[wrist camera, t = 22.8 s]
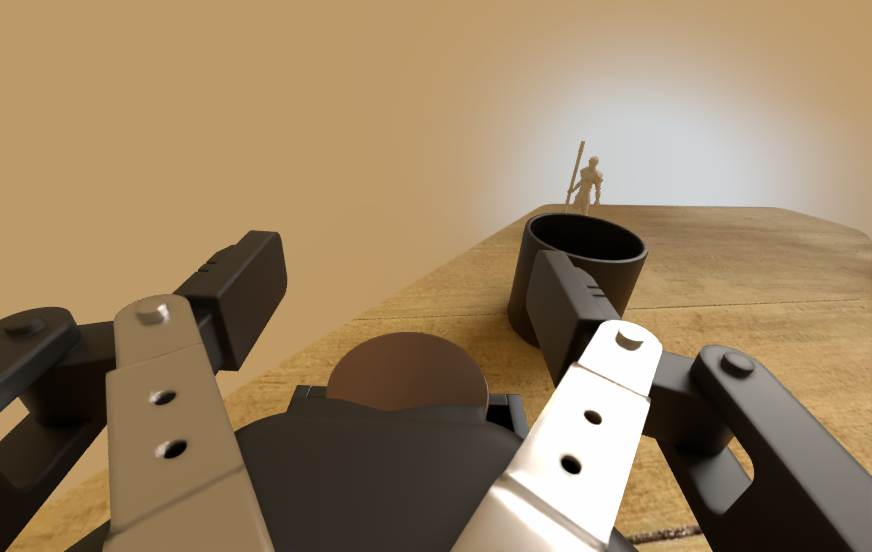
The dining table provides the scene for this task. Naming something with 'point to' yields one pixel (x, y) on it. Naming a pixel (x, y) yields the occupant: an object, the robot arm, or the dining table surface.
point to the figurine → (584, 184)
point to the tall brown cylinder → (408, 374)
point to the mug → (578, 259)
